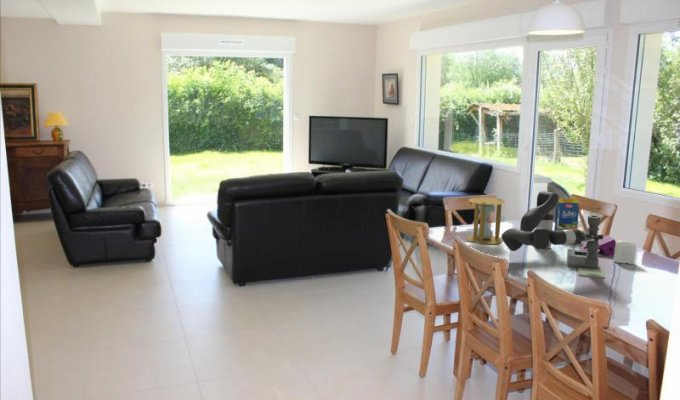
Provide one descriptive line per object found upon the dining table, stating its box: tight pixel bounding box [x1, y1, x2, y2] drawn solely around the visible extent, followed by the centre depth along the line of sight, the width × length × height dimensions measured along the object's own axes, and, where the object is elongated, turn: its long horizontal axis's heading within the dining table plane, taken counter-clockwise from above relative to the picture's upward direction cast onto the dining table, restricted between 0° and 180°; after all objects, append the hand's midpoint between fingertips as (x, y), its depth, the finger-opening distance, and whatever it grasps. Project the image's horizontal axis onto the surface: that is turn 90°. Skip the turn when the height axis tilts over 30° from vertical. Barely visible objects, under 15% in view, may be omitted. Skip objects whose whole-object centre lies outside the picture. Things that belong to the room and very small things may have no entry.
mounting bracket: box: [579, 234, 617, 256], centre depth 335 cm, size 10×8×18 cm
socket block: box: [566, 248, 598, 270], centre depth 311 cm, size 14×14×6 cm
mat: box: [577, 268, 606, 279], centre depth 297 cm, size 12×12×1 cm
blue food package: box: [553, 198, 580, 231], centre depth 367 cm, size 6×12×25 cm, turn 90°
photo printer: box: [613, 240, 637, 265], centre depth 316 cm, size 10×4×12 cm, turn 72°
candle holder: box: [585, 214, 601, 267], centre depth 293 cm, size 6×6×25 cm
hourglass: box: [466, 196, 506, 245], centre depth 358 cm, size 24×22×25 cm
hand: (599, 235), depth 293 cm, fingers closed on candle holder, 4 cm apart
